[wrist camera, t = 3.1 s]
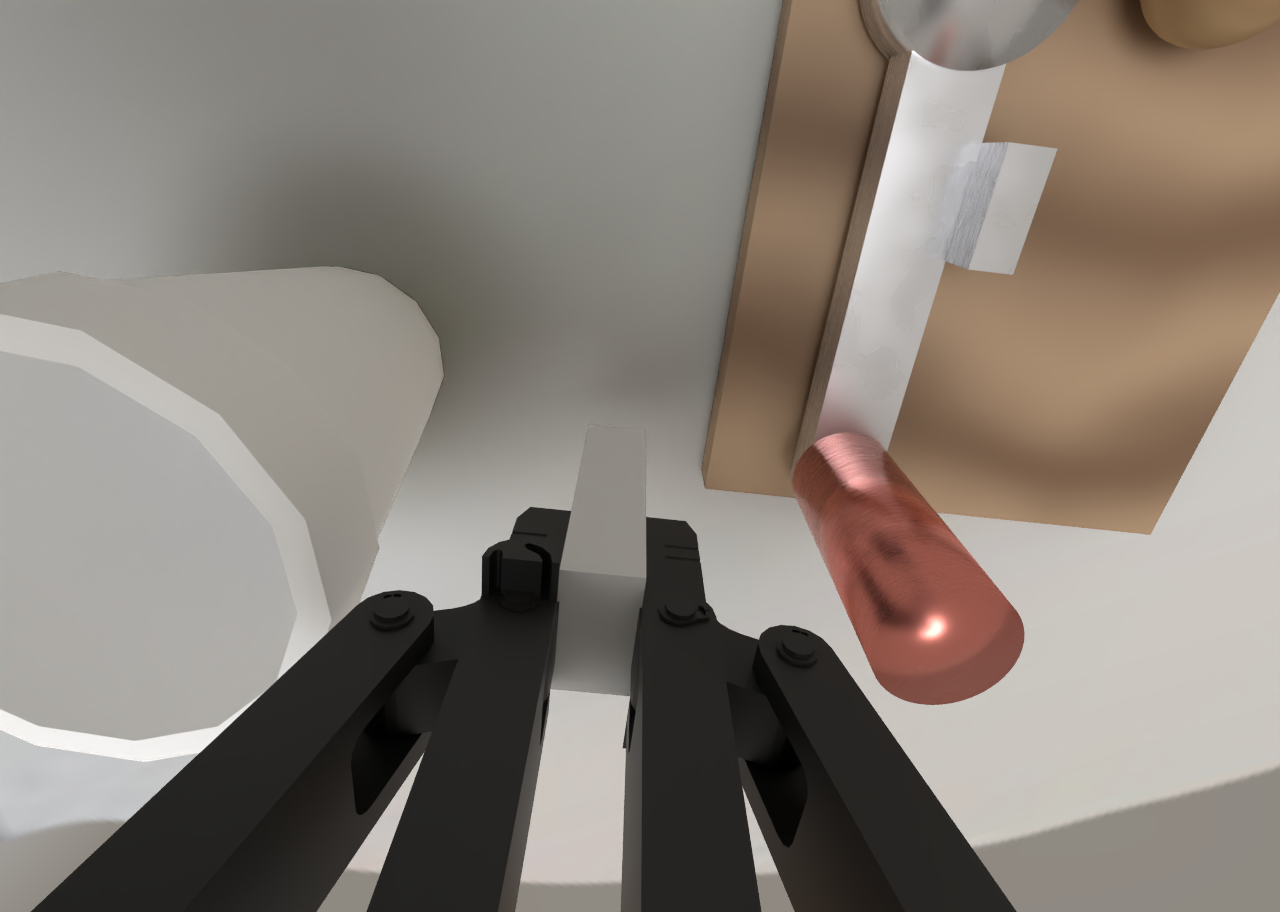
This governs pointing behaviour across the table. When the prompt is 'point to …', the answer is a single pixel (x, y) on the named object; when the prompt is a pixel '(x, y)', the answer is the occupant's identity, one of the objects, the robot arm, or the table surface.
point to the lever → (917, 339)
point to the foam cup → (191, 490)
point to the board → (1024, 270)
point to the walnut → (1209, 20)
